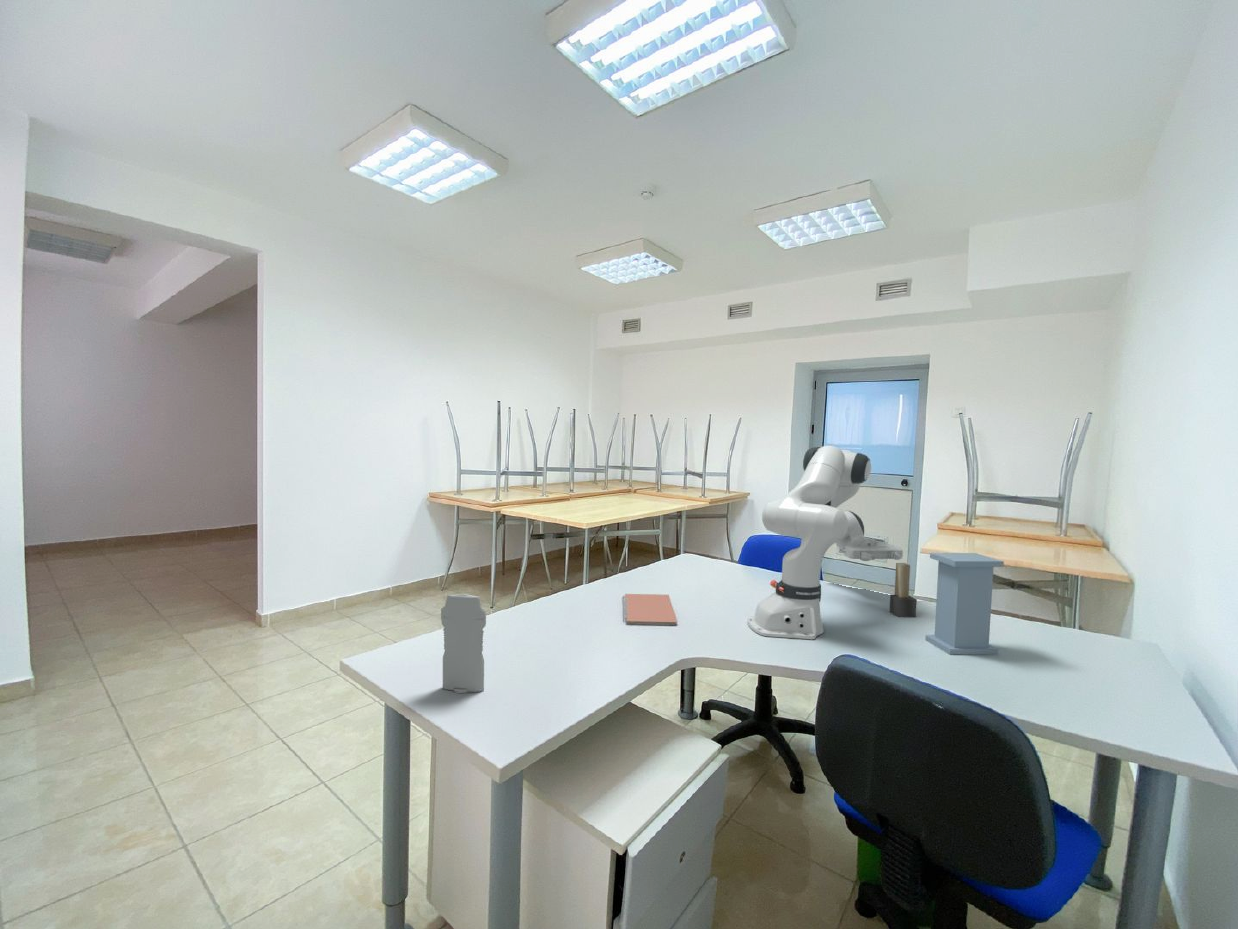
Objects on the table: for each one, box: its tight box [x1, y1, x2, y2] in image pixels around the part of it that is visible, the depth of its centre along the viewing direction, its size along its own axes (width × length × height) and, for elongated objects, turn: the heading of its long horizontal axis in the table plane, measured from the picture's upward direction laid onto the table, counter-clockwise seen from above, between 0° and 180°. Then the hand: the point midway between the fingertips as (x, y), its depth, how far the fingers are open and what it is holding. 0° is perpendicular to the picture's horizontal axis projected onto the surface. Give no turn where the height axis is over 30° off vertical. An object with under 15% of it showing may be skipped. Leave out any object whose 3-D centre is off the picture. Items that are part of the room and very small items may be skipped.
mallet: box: [889, 562, 918, 618], centre depth 170 cm, size 6×17×5 cm
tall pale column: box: [440, 593, 487, 694], centre depth 114 cm, size 11×4×22 cm, turn 83°
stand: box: [924, 552, 1005, 656], centre depth 143 cm, size 14×10×26 cm
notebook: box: [621, 593, 678, 626], centre depth 169 cm, size 27×17×2 cm, turn 0°
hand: (885, 557), depth 180 cm, fingers open, 8 cm apart
